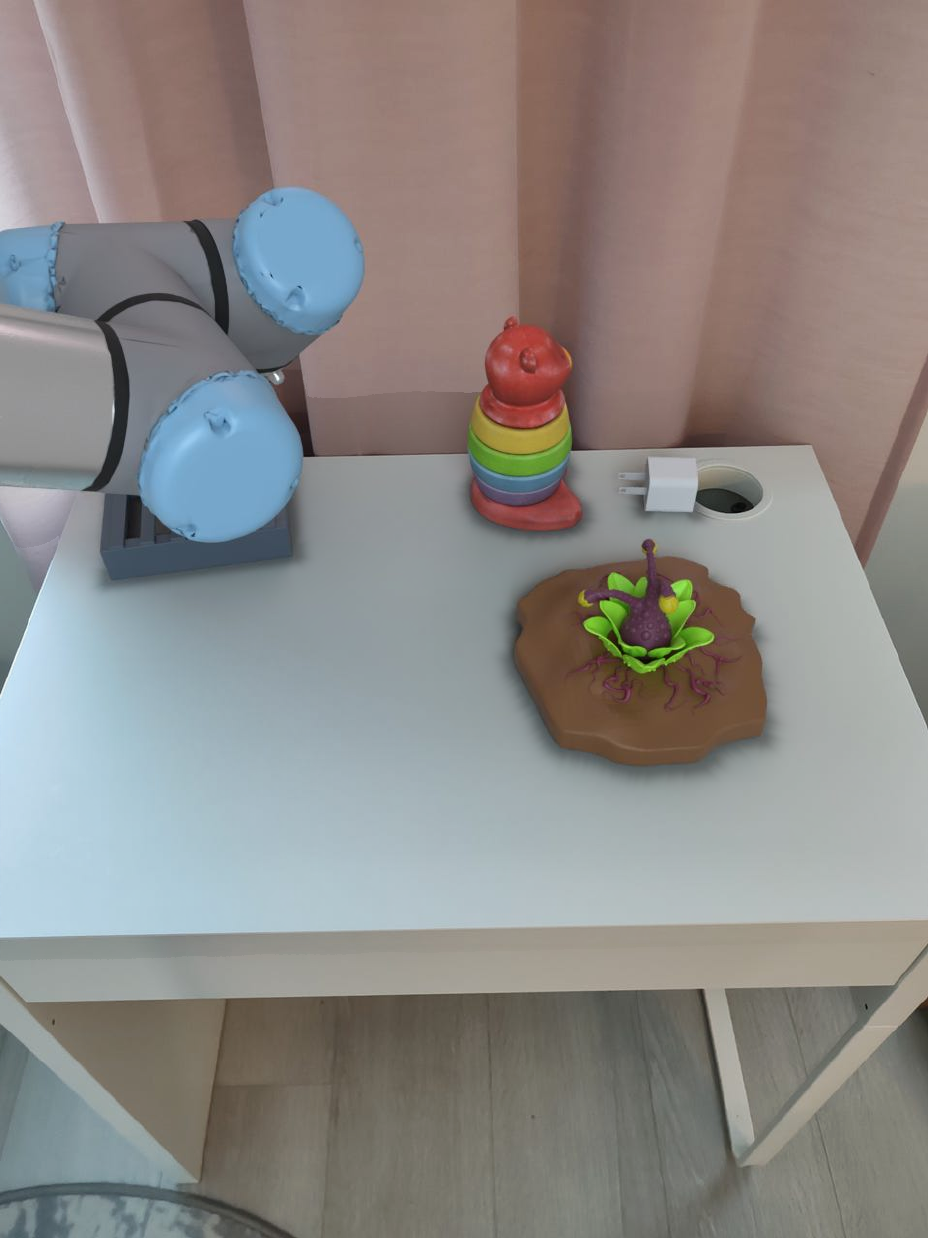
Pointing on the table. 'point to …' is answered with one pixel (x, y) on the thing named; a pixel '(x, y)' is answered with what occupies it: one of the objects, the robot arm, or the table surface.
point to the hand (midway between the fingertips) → (158, 426)
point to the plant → (641, 661)
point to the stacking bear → (523, 433)
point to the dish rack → (180, 544)
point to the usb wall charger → (666, 484)
